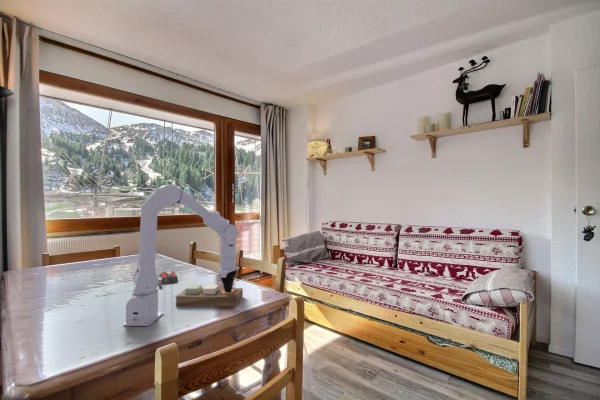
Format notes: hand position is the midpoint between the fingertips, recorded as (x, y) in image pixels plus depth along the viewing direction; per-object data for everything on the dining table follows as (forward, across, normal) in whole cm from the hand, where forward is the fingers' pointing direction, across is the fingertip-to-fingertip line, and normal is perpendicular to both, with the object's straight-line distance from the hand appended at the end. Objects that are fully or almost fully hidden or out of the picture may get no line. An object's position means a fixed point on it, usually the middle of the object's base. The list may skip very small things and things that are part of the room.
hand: (228, 291), depth 108 cm
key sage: (0, 0, +13) cm, 13 cm away
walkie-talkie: (+4, +24, +35) cm, 43 cm away
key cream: (0, 0, +6) cm, 7 cm away
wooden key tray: (+4, 0, +6) cm, 7 cm away
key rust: (+2, 0, 0) cm, 2 cm away
